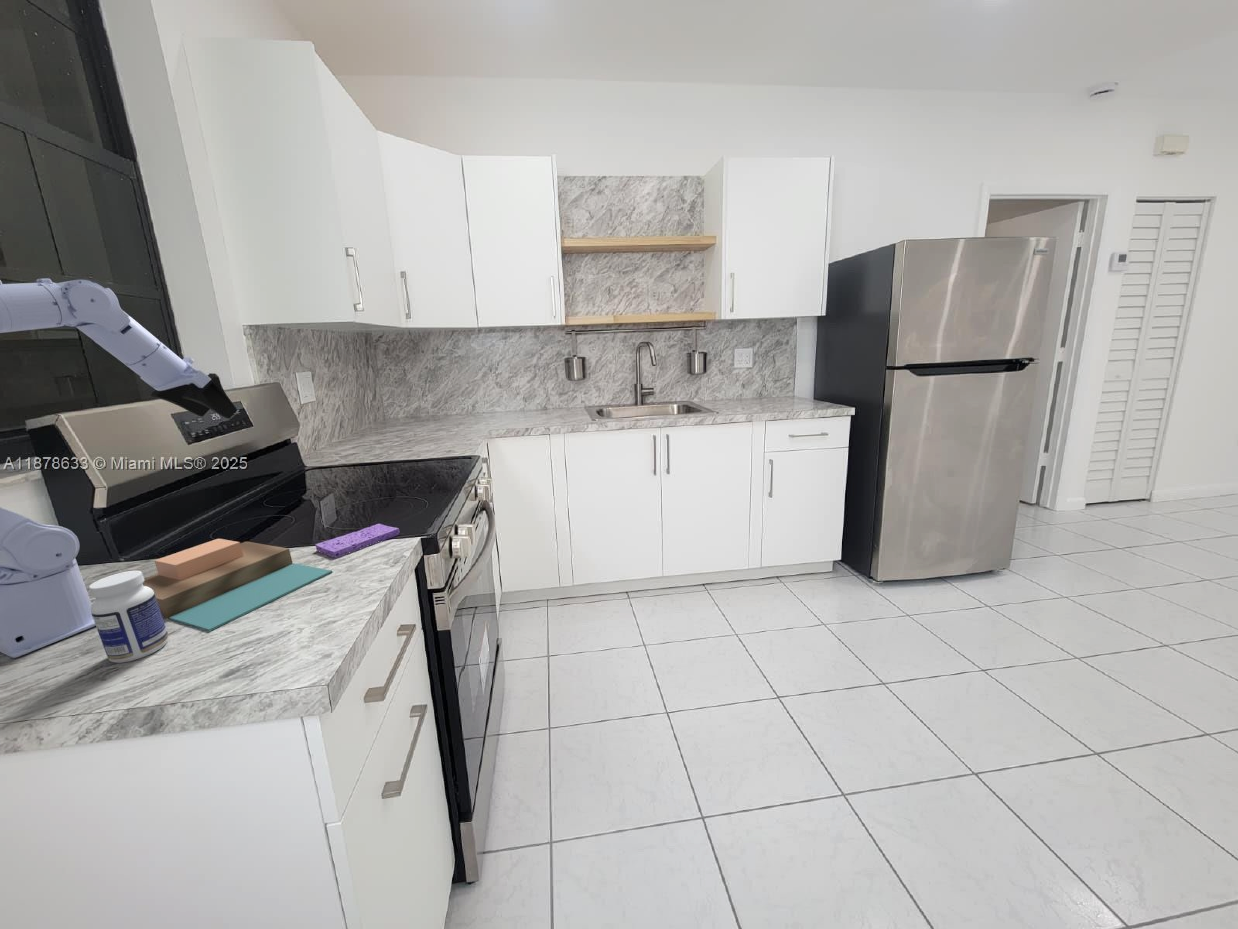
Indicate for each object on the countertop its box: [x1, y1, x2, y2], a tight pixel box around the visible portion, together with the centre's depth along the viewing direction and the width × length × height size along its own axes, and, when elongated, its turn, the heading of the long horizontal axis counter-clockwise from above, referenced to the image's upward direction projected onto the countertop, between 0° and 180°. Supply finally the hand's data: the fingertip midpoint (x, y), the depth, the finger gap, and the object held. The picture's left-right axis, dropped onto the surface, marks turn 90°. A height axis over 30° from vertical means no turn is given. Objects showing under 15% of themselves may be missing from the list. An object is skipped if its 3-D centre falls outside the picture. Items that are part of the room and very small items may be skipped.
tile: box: [153, 538, 243, 580], centre depth 81 cm, size 9×6×2 cm, turn 156°
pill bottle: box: [88, 570, 170, 664], centre depth 62 cm, size 6×6×10 cm
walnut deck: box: [143, 541, 293, 620], centre depth 81 cm, size 18×12×3 cm, turn 156°
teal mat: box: [168, 562, 333, 632], centre depth 76 cm, size 18×10×1 cm, turn 156°
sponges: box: [314, 523, 401, 559], centre depth 95 cm, size 7×13×2 cm, turn 145°
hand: (218, 413), depth 87 cm, fingers open, 7 cm apart
